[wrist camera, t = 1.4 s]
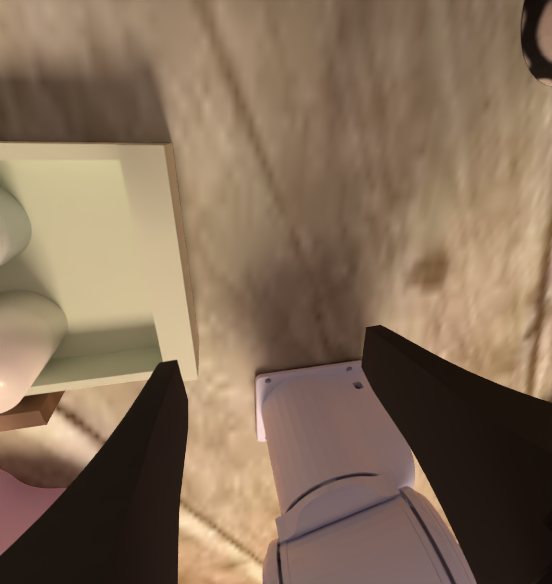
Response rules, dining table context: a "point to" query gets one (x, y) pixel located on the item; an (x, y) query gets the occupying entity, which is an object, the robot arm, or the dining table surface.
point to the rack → (30, 411)
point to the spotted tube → (538, 38)
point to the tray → (104, 258)
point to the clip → (21, 507)
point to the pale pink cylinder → (26, 341)
